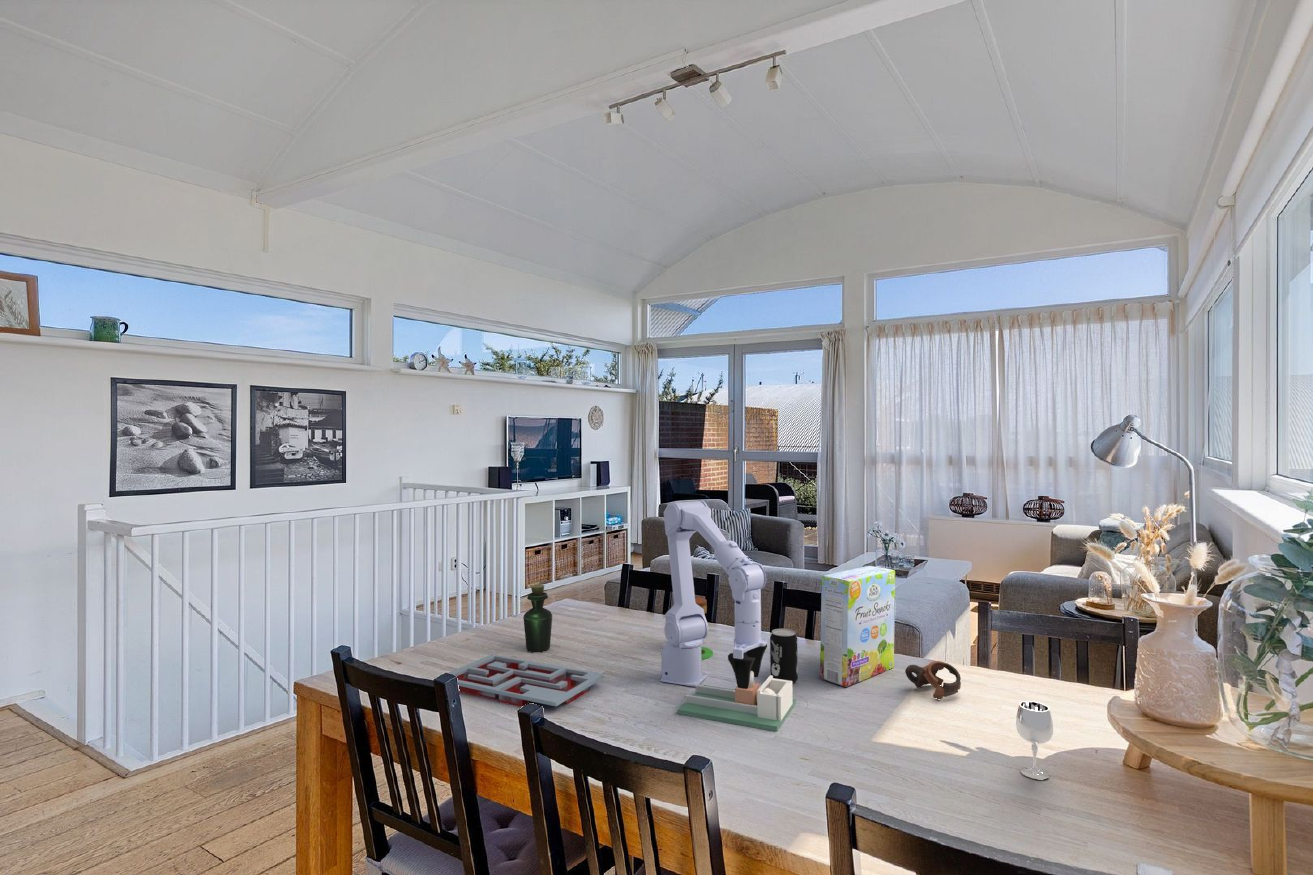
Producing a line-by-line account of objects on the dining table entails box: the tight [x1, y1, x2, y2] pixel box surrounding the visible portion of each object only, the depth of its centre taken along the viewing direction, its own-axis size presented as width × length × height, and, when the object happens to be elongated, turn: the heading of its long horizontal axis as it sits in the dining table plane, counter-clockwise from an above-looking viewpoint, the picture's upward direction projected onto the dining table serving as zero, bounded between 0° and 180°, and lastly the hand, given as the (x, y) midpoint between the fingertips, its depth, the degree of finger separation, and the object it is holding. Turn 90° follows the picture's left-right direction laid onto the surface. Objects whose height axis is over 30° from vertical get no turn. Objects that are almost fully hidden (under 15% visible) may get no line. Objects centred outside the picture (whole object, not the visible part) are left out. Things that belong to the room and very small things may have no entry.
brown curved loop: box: [904, 660, 962, 700], centre depth 160 cm, size 12×10×8 cm
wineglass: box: [1015, 700, 1054, 775], centre depth 121 cm, size 6×6×12 cm
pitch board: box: [677, 684, 797, 732], centre depth 152 cm, size 22×16×2 cm
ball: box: [756, 687, 775, 700], centre depth 149 cm, size 4×4×4 cm
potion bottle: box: [523, 584, 553, 653], centre depth 195 cm, size 8×8×18 cm
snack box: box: [819, 565, 896, 688], centre depth 173 cm, size 22×9×26 cm, turn 131°
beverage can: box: [769, 628, 799, 685], centre depth 169 cm, size 7×7×12 cm
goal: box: [757, 674, 794, 721], centre depth 148 cm, size 5×10×6 cm, turn 155°
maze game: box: [448, 653, 605, 708], centre depth 166 cm, size 35×20×3 cm, turn 62°
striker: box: [734, 671, 761, 706], centre depth 151 cm, size 4×5×7 cm
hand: (748, 682), depth 151 cm, fingers open, 7 cm apart
